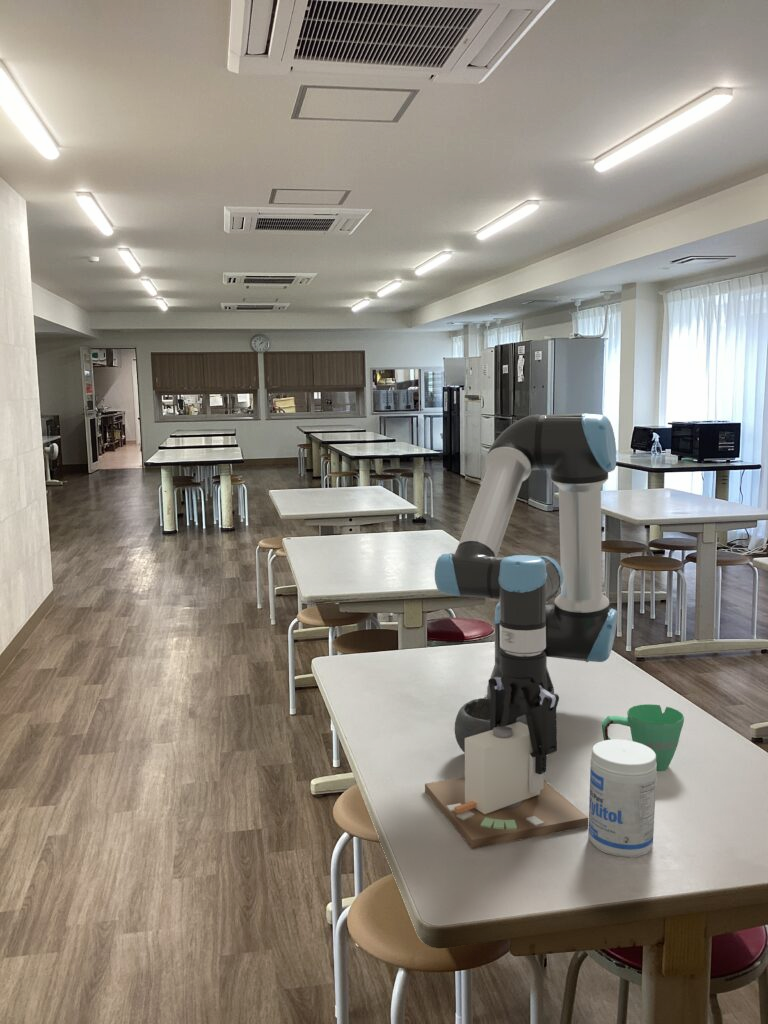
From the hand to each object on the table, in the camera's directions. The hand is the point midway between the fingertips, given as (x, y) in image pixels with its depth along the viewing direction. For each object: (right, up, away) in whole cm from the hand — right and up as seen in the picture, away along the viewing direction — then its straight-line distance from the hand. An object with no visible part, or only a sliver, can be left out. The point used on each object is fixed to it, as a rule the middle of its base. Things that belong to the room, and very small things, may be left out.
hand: (522, 783), depth 140 cm
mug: (+24, -1, +13) cm, 27 cm away
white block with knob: (-5, -2, -3) cm, 6 cm away
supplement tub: (+13, -5, -13) cm, 19 cm away
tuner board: (-4, -3, -2) cm, 5 cm away
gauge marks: (-6, -3, -8) cm, 10 cm away
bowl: (-3, -1, +17) cm, 17 cm away
